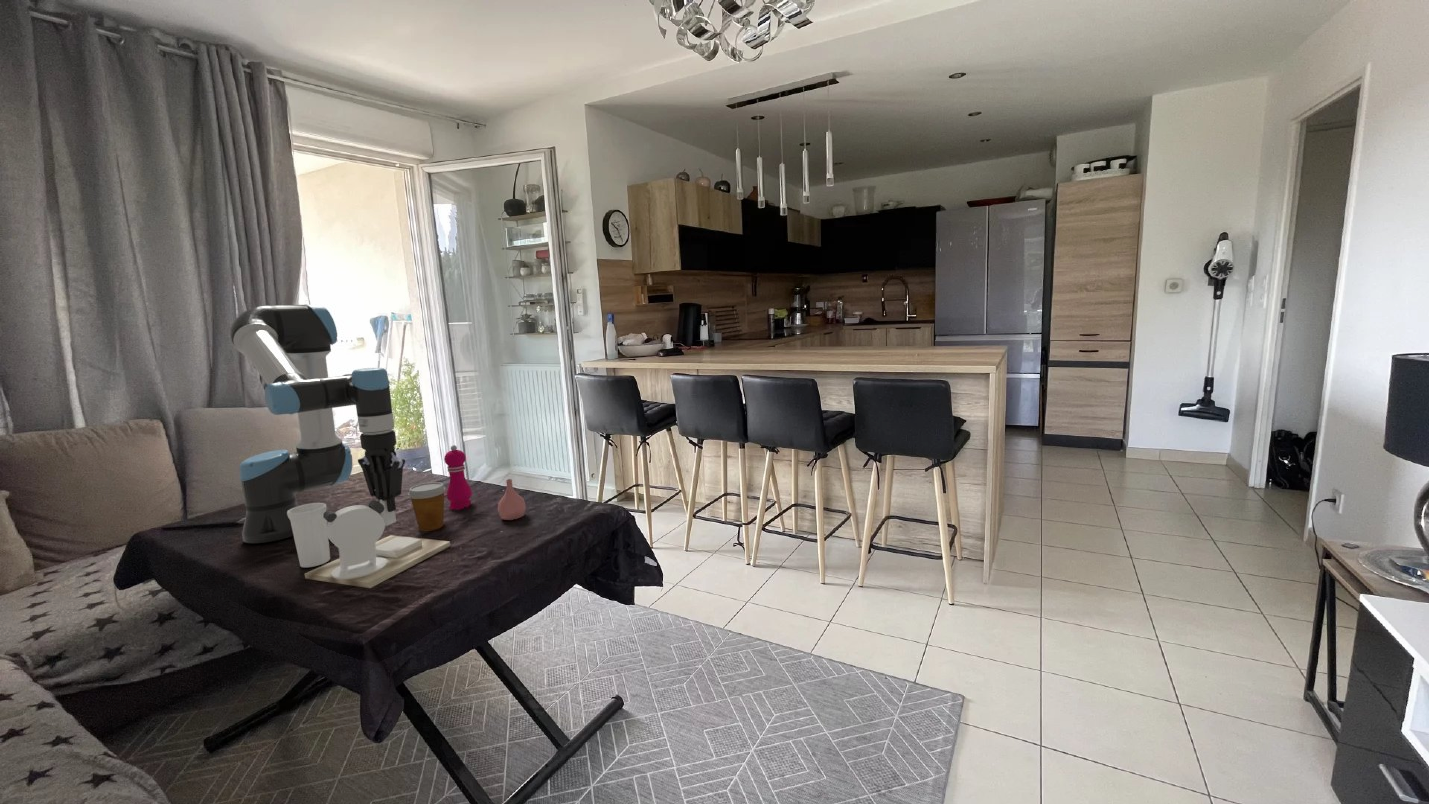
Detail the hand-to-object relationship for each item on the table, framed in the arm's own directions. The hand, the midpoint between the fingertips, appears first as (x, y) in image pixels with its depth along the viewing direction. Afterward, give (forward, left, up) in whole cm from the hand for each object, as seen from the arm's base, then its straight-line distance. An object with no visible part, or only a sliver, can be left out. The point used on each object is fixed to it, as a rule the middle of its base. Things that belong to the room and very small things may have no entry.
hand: (389, 523), depth 148 cm
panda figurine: (+2, -10, -7) cm, 13 cm away
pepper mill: (-9, +34, -8) cm, 36 cm away
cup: (-15, -9, -8) cm, 20 cm away
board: (+1, -4, -8) cm, 9 cm away
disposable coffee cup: (-5, +18, -9) cm, 20 cm away
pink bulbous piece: (+15, +28, -8) cm, 33 cm away
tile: (-3, 0, -6) cm, 7 cm away
